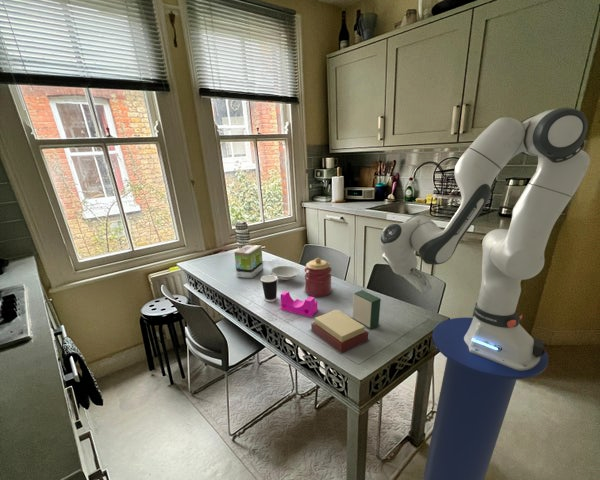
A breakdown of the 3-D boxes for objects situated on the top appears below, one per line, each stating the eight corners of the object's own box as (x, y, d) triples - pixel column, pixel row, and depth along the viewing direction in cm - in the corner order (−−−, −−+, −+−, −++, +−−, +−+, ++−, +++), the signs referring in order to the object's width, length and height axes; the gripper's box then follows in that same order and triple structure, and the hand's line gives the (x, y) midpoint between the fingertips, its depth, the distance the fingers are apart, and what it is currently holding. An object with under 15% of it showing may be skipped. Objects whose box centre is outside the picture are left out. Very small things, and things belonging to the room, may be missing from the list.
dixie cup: (282, 299, 150) (280, 278, 145) (267, 304, 146) (265, 283, 141) (273, 294, 156) (272, 273, 151) (259, 298, 151) (257, 277, 147)
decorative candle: (252, 262, 198) (247, 222, 188) (237, 263, 198) (232, 223, 188) (253, 257, 207) (249, 219, 196) (239, 258, 206) (234, 220, 196)
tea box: (252, 278, 174) (250, 253, 168) (236, 277, 177) (233, 252, 171) (263, 268, 187) (261, 244, 181) (248, 267, 190) (245, 243, 184)
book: (378, 325, 126) (380, 298, 121) (370, 329, 124) (372, 302, 119) (360, 315, 134) (362, 289, 129) (352, 318, 132) (353, 292, 127)
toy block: (317, 310, 139) (317, 295, 136) (310, 316, 134) (310, 301, 131) (288, 303, 146) (288, 288, 143) (281, 309, 141) (280, 294, 138)
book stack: (368, 340, 117) (369, 326, 114) (341, 353, 111) (341, 338, 108) (336, 320, 131) (336, 307, 128) (311, 330, 124) (310, 317, 122)
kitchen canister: (335, 294, 152) (335, 260, 145) (309, 299, 149) (308, 264, 142) (325, 284, 164) (325, 252, 156) (302, 288, 161) (300, 255, 153)
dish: (265, 278, 174) (264, 270, 171) (285, 271, 182) (285, 263, 180) (285, 288, 161) (284, 279, 159) (306, 280, 170) (306, 271, 167)
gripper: (432, 272, 101) (439, 294, 111) (392, 242, 116) (402, 264, 125) (416, 285, 102) (425, 305, 111) (378, 253, 116) (389, 274, 126)
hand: (412, 283), depth 119 cm, fingers open, 8 cm apart
